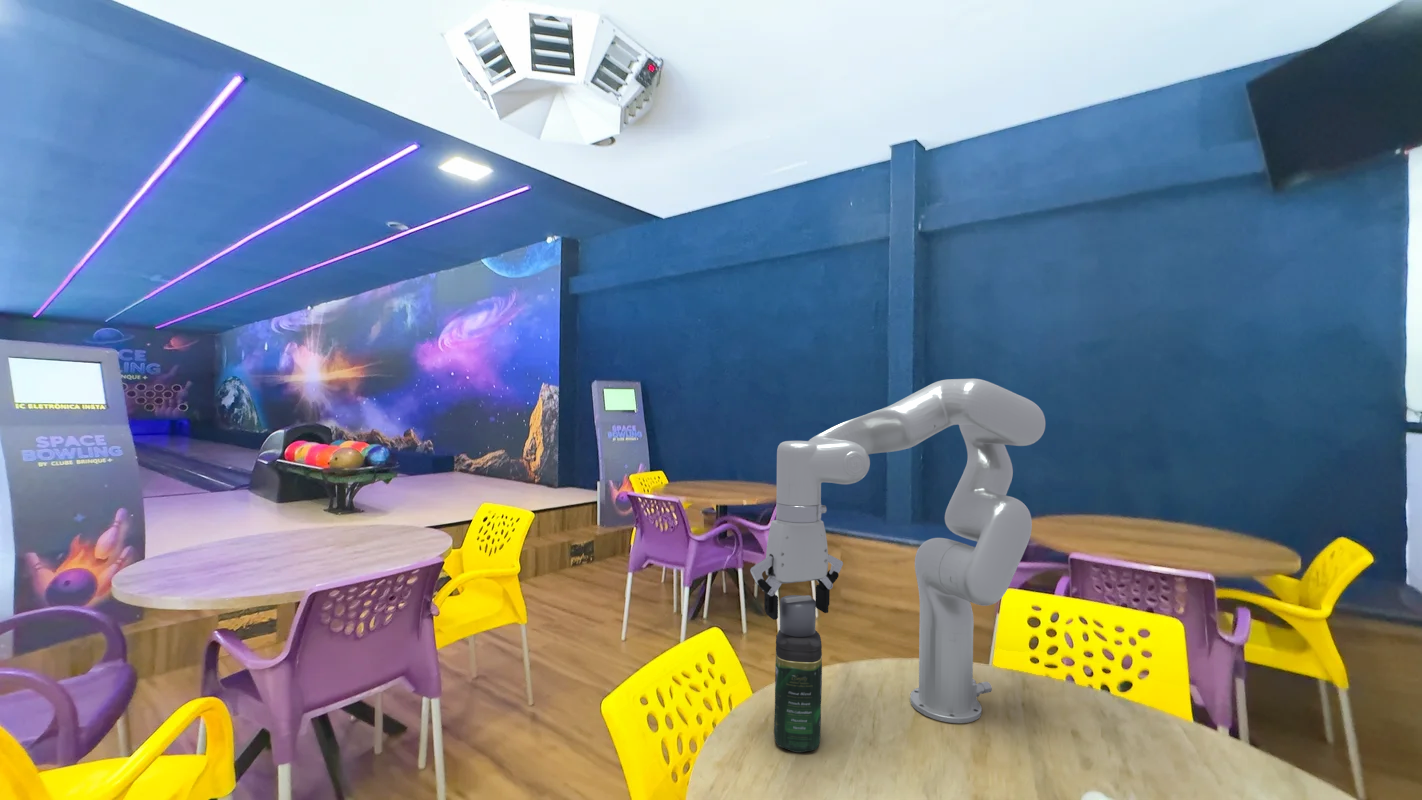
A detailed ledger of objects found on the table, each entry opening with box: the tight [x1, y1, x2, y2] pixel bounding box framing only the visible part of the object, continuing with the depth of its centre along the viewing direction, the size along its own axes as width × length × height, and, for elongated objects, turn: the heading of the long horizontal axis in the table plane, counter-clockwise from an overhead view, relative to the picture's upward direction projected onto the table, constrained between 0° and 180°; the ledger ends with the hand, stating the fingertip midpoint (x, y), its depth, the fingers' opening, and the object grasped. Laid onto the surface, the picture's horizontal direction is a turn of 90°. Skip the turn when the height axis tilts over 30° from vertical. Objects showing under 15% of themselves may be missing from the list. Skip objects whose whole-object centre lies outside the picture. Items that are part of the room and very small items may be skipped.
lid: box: [779, 594, 817, 637], centre depth 104 cm, size 6×6×6 cm
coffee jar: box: [773, 629, 823, 753], centre depth 104 cm, size 10×8×19 cm
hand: (797, 613), depth 104 cm, fingers open, 9 cm apart
